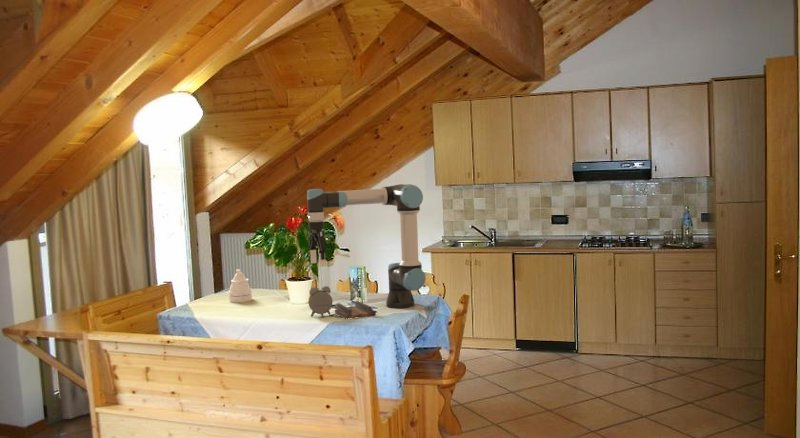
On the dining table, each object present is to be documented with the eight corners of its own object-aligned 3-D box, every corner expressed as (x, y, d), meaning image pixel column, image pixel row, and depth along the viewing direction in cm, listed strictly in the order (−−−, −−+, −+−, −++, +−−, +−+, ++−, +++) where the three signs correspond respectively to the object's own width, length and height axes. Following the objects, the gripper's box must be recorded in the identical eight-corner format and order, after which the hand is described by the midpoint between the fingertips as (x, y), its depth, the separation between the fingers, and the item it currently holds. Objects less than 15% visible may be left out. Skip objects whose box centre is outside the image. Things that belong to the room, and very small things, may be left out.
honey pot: (249, 302, 392) (247, 270, 390) (226, 302, 392) (224, 271, 391) (254, 297, 405) (252, 267, 403) (232, 298, 405) (230, 268, 403)
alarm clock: (331, 314, 352) (330, 285, 351) (334, 316, 345) (332, 287, 344) (308, 316, 348) (307, 287, 347) (311, 319, 342) (309, 289, 341)
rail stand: (360, 309, 361) (359, 300, 361) (373, 315, 345) (373, 306, 344) (334, 312, 355) (334, 303, 355) (347, 319, 339) (346, 310, 338)
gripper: (301, 220, 341) (303, 262, 342) (316, 223, 318) (318, 268, 320) (315, 219, 344) (317, 261, 345) (332, 222, 321) (334, 267, 323)
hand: (318, 264), depth 333 cm, fingers open, 13 cm apart
